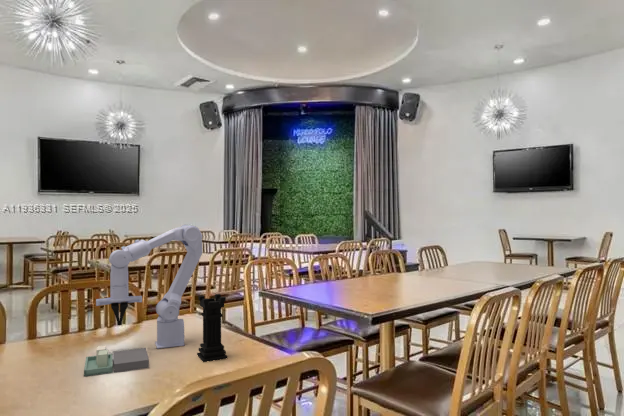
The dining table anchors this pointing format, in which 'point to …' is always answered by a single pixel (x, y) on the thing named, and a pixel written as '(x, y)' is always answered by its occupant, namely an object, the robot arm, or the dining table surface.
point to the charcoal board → (130, 359)
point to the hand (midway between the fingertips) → (119, 324)
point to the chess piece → (212, 329)
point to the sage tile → (103, 359)
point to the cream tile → (99, 348)
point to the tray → (93, 369)
